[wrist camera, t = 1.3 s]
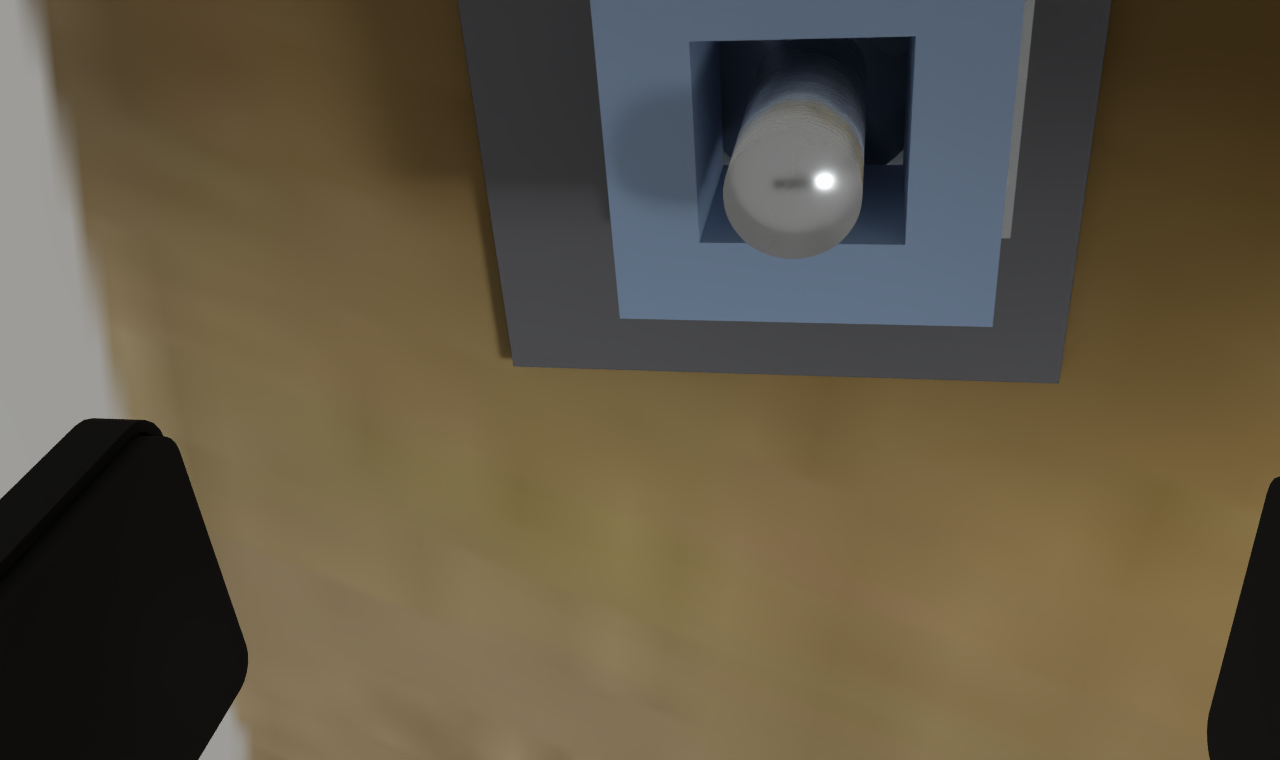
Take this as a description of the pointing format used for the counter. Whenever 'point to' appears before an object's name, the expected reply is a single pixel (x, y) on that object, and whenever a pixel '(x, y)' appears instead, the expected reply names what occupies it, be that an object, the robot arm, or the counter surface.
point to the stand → (820, 134)
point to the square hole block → (892, 194)
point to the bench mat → (598, 339)
